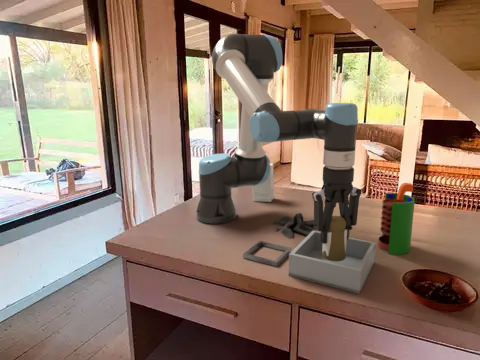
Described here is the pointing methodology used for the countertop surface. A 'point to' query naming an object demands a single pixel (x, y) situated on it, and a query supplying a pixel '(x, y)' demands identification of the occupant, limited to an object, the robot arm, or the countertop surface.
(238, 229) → the countertop surface
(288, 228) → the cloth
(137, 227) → the countertop surface
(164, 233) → the countertop surface
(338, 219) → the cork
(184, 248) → the countertop surface
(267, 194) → the skincare box
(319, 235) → the bin
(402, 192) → the motor
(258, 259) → the collar
